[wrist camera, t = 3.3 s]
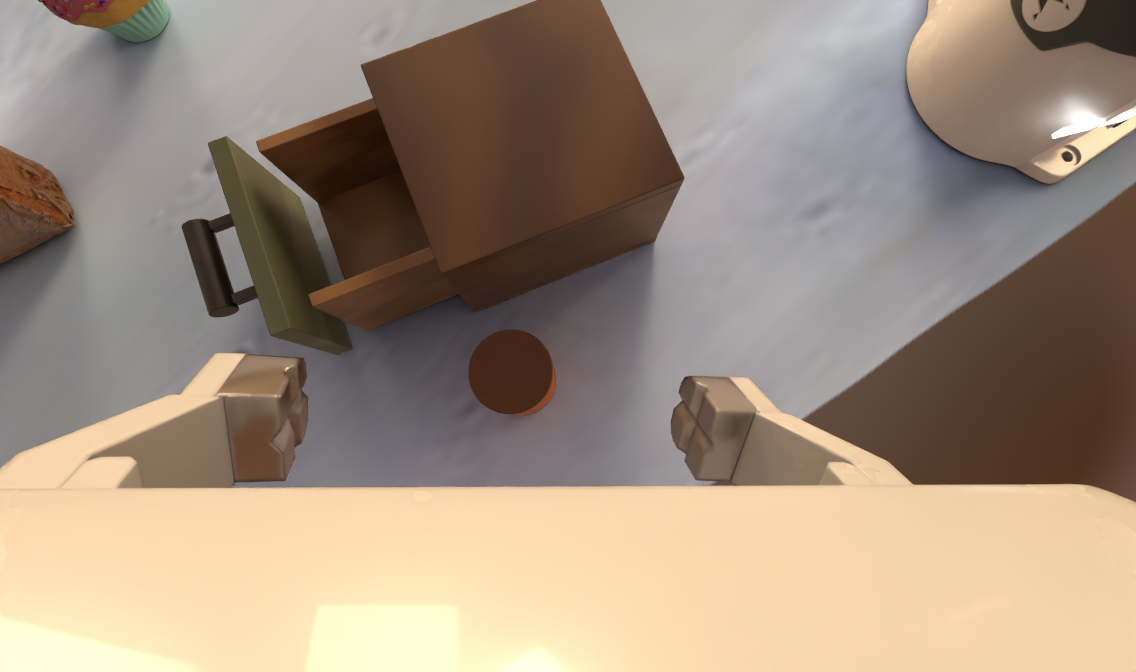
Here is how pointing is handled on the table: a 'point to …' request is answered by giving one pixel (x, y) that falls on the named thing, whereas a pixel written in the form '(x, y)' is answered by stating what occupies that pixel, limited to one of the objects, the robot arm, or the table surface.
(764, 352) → the table surface
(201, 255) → the drawer
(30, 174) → the food item
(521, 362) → the cookie roll
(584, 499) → the robot arm
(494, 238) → the cabinet
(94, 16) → the cupcake
